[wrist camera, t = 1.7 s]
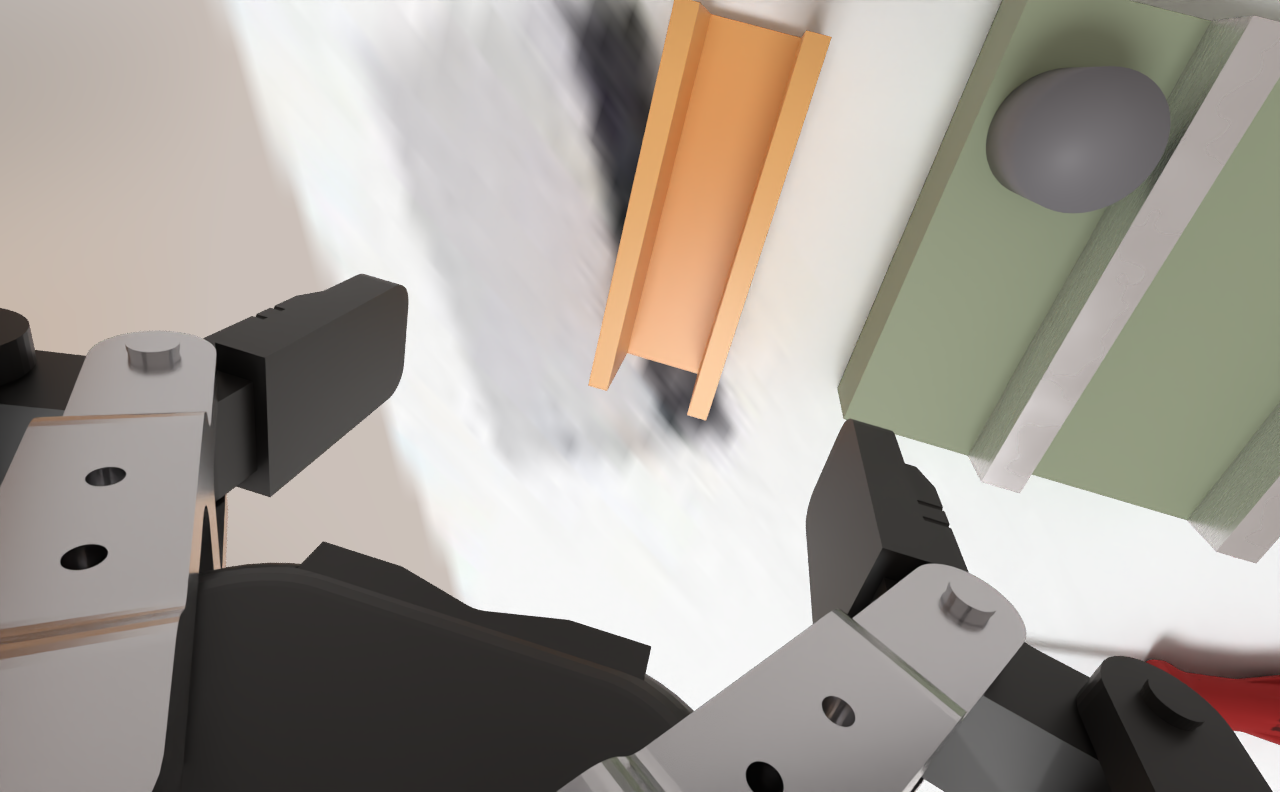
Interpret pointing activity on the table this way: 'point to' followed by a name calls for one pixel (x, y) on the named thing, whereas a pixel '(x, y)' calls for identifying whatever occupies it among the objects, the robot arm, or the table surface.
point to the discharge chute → (705, 192)
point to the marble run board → (1051, 244)
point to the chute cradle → (1120, 275)
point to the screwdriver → (1237, 700)
